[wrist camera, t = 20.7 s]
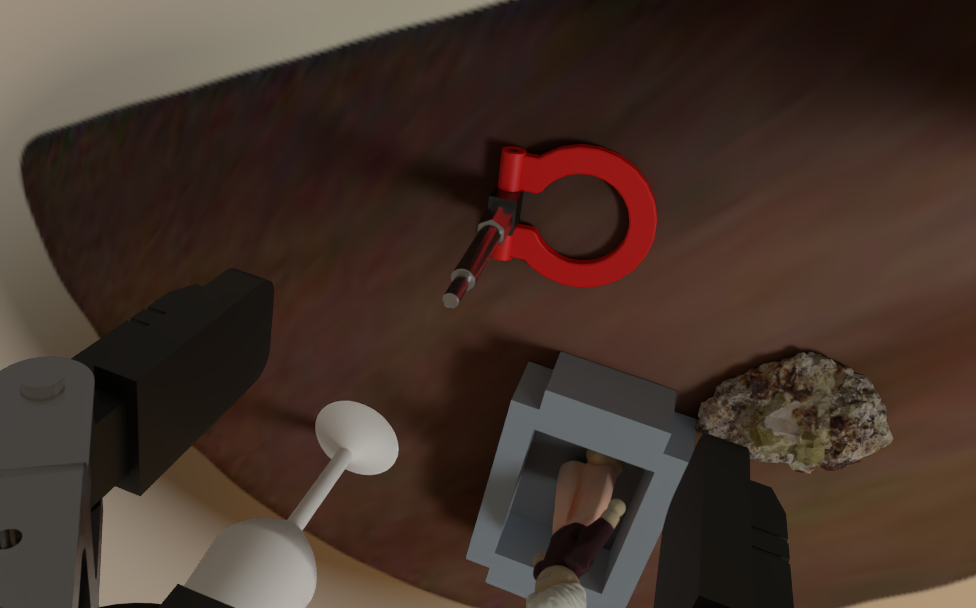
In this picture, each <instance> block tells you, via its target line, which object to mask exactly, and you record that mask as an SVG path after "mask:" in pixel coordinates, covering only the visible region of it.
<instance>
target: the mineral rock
mask: <svg viewBox="0 0 976 608" xmlns="http://www.w3.org/2000/svg"><path fill="white" fill-rule="evenodd" d="M698 416H699V418H700V419H698V420H697V423H696V427H695V428H696V430H698V431H700V432H701V434H702V435H703V434H704V433H708V434H710V435H713V436H716V437H719V438H722V439H725V440H728V441H731V442H734V443H736V444H739V445H742V446H745V447H748V449H749V454H750V459H755V460H757V461H761V462H775V463H778V462H784V463H788V464H789V466H790V468H791V469H792V470H794V471H797V472H801V473H802V472H806V473H807V474H810V473H811V472H812V471H813V470H814V468H815V467H816V466H819V467H822V468H823V469H825V470H828V471H835V470H841V469H843V468H844V467H846V466H848V465H851V464H853V463H858V462H860V461H861V459H862V458H863V457H864V456H868V455H870V454H872V453H874V452H876V451H878V450H879V449H880V448H883V447H885V446H887V445H889V444H891V442H892V440H893V437H892V433H891V432H890V429H889V426H888V424H887V422H886V417H887V410H886V406H885V405H884V404H883V403H882V402H881V398H880V396H879V394H878V392H877V391H876V390H875V389H874V387H873V383H872V382H871V381H870V380H869V379H868V378H867V377H865V376H864V375H859V374H854V372H853V370H852V369H851V368H847V367H844V366H843V365H841V364H838V363H835V362H834V361H833V360H832V359H827V358H825V357H824V356H823V355H821V354H815V353H813V352H809V353H808V354H806V353H798V354H797V355H796V356H794V357H791V358H787V359H782V361H780V362H776V361H773V362H769V363H765V364H762V365H760V366H759V367H758V368H756V369H753V368H750V369H749V370H748V371H747V372H746V373H744V374H743V375H739V376H737V377H736V378H734V379H733V378H731V379H727V380H724V381H723V382H722V383H721V384H720V385H719V386H716V391H715V393H714V396H713V397H712V398H709V399H707V401H706V402H702V403H701V406H700V409H699V413H698Z"/></svg>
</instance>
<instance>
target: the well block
mask: <svg viewBox="0 0 976 608" xmlns="http://www.w3.org/2000/svg"><path fill="white" fill-rule="evenodd" d="M676 393H677V391H676V390H673V389H670V388H667V387H664V386H661V385H658V384H655V383H652V382H649V381H647V380H644V379H641V378H638V377H635V376H632V375H629V374H626V373H623V372H620V371H617V370H614V369H611V368H608V367H605V366H602V365H599V364H597V363H594V362H591V361H588V360H585V359H582V358H579V357H576V356H573V355H570V354H567V353H564V352H560V354H559V357H558V360H557V362H556V365H555V367H554V370H553V369H550V368H547V367H544V366H541V365H538V364H535V363H532V362H528V364H527V367H526V369H525V371H524V373H523V375H522V378H521V380H520V382H519V384H518V386H517V389H516V391H515V393H514V395H513V397H512V400H511V403H510V406H509V410H508V413H507V417H506V420H505V424H504V427H503V431H502V434H501V438H500V441H499V445H498V448H497V452H496V455H495V459H494V462H493V466H492V469H491V473H490V476H489V480H488V483H487V487H486V490H485V494H484V497H483V501H482V504H481V508H480V511H479V515H478V518H477V522H476V525H475V529H474V532H473V535H472V539H471V542H470V546H469V549H468V553H467V556H466V559H468V560H471V561H473V562H476V563H479V564H481V565H484V566H486V567H489V568H490V569H489V572H488V576H487V579H486V583H488V584H491V585H494V586H496V587H499V588H501V589H504V590H506V591H509V592H511V593H514V594H517V595H519V596H522V597H524V598H527V597H528V596H529V595H530V594H531V593H534V592H535V583H536V580H535V579H534V577H533V570H534V564H533V557H534V555H535V554H536V553H539V552H542V553H545V554H546V552H547V549H548V546H549V544H550V539H551V537H552V535H553V531H552V528H553V516H554V510H555V496H556V488H557V479H558V475H559V470H560V468H561V466H562V465H563V464H564V463H566V462H570V461H579V462H582V463H584V464H586V463H588V460H587V457H586V452H587V450H588V449H590V450H593V451H596V452H599V453H602V454H604V455H607V456H610V457H613V458H616V459H618V460H620V462H621V464H622V466H623V471H622V473H621V474H620V475H619V476H618V477H617V479H616V482H615V486H614V490H613V492H612V496H611V500H612V499H620V500H622V501H623V502H624V503H625V506H626V510H625V512H624V514H623V515H622V516H620V517H619V522H618V524H617V525H616V527H615V529H614V532H613V534H612V535H611V537H610V538H609V539H608V540H607V542H606V543H605V544H604V546H603V548H602V549H601V550H600V551H599V553H598V554H597V555H596V556H595V559H594V563H593V565H592V567H591V569H590V570H589V571H588V572H586V573H585V574H584V575H582V576H581V577H580V578H579V581H580V584H581V586H582V587H583V588H584V590H585V592H586V603H587V606H586V608H626V606H627V604H628V602H629V600H630V597H631V595H632V593H633V591H634V589H635V587H636V585H637V582H638V580H639V578H640V576H641V574H642V572H643V570H644V567H645V565H646V563H647V561H648V559H649V557H650V555H651V552H652V550H653V548H654V546H655V544H656V542H657V539H658V537H659V535H660V533H661V531H662V529H663V526H664V522H665V518H666V514H667V511H668V508H669V505H670V502H671V500H672V498H673V495H674V493H675V491H676V489H677V487H678V484H679V482H680V480H681V478H682V476H683V474H684V471H685V469H686V467H687V465H688V463H689V461H690V458H691V456H692V454H693V452H694V440H695V427H696V419H695V418H692V417H689V416H686V415H683V414H680V413H677V412H675V411H674V409H675V401H676ZM611 500H610V501H611ZM607 508H608V507H607Z"/></svg>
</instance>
